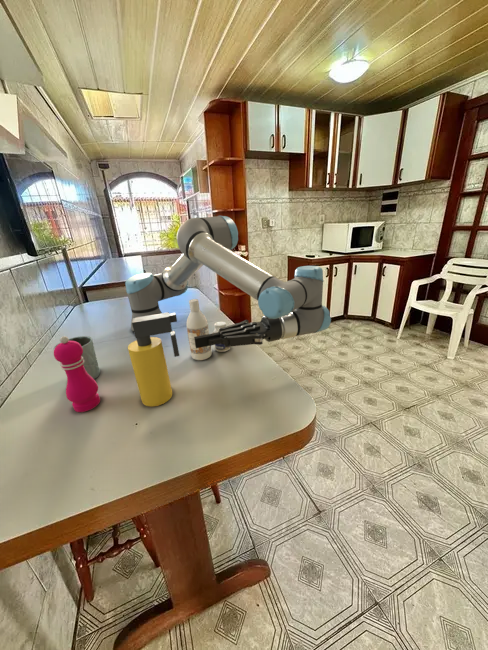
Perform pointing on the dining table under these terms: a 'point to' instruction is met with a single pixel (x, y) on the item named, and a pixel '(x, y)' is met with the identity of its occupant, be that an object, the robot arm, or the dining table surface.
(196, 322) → the bath foam
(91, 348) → the gray cup
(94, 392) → the pepper mill
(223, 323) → the pill bottle
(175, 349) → the trigger
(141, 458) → the dining table surface
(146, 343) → the spray bottle
